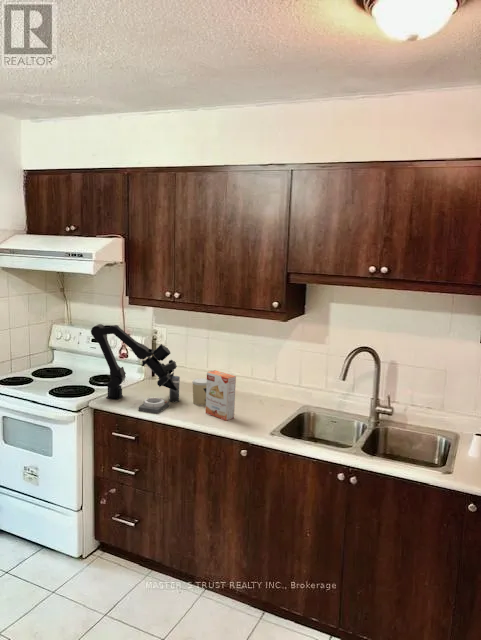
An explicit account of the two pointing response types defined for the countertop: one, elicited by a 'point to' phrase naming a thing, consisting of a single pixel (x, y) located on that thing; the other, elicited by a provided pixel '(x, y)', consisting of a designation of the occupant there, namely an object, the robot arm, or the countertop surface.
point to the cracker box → (220, 394)
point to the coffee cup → (199, 391)
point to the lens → (172, 393)
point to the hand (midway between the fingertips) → (177, 388)
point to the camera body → (153, 405)
